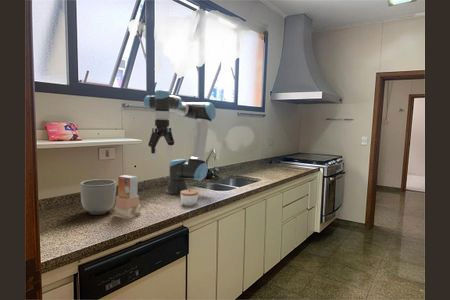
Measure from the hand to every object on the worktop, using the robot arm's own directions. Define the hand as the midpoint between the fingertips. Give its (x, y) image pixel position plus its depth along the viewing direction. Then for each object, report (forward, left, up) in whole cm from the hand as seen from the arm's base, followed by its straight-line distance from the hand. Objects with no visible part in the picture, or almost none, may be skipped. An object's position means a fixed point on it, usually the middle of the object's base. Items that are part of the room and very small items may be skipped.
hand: (161, 158), depth 155 cm
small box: (+17, -8, -19) cm, 27 cm away
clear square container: (+17, -8, -29) cm, 35 cm away
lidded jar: (-16, +9, -29) cm, 34 cm away
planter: (+21, -24, -29) cm, 43 cm away
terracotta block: (+17, -9, -24) cm, 31 cm away
